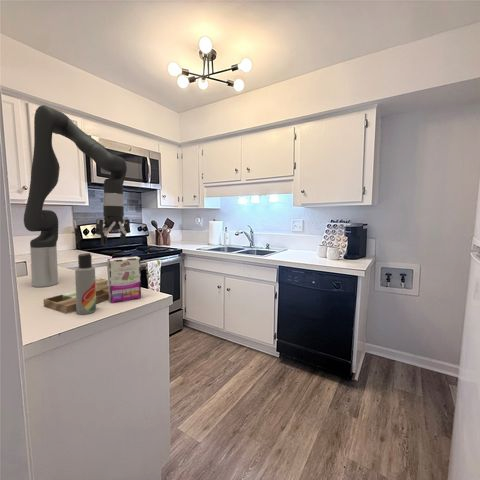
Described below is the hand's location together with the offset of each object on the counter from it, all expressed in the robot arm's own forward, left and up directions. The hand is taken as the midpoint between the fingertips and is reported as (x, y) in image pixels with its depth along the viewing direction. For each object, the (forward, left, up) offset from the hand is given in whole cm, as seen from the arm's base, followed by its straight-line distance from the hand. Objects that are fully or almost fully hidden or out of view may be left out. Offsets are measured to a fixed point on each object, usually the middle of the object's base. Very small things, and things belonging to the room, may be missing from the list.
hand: (113, 244), depth 106 cm
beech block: (-3, -5, -18) cm, 19 cm away
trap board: (0, -12, -20) cm, 24 cm away
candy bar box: (+11, -4, -21) cm, 24 cm away
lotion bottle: (+10, -19, -21) cm, 30 cm away
